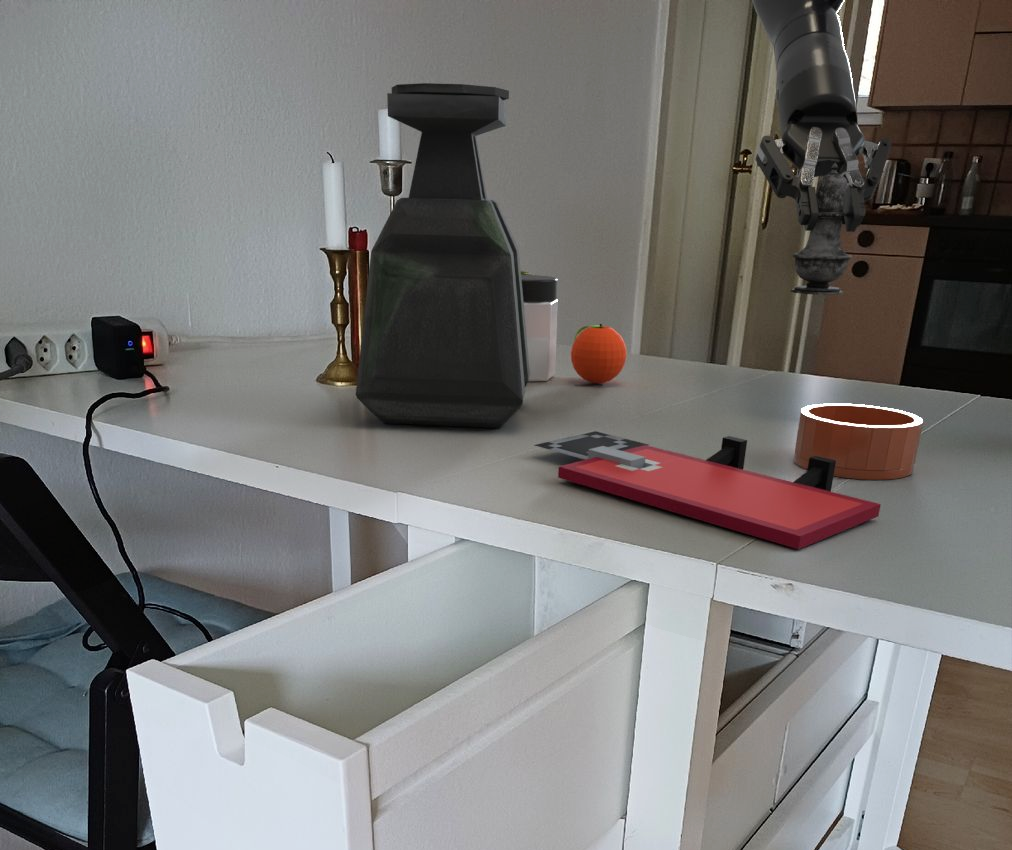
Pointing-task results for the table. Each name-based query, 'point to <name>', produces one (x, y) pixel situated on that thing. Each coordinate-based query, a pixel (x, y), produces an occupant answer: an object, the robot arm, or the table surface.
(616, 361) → the clementine
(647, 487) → the red board with handle
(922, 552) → the table surface
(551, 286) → the jar
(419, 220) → the bottle
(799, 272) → the salt shaker
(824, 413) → the round brown bowl
